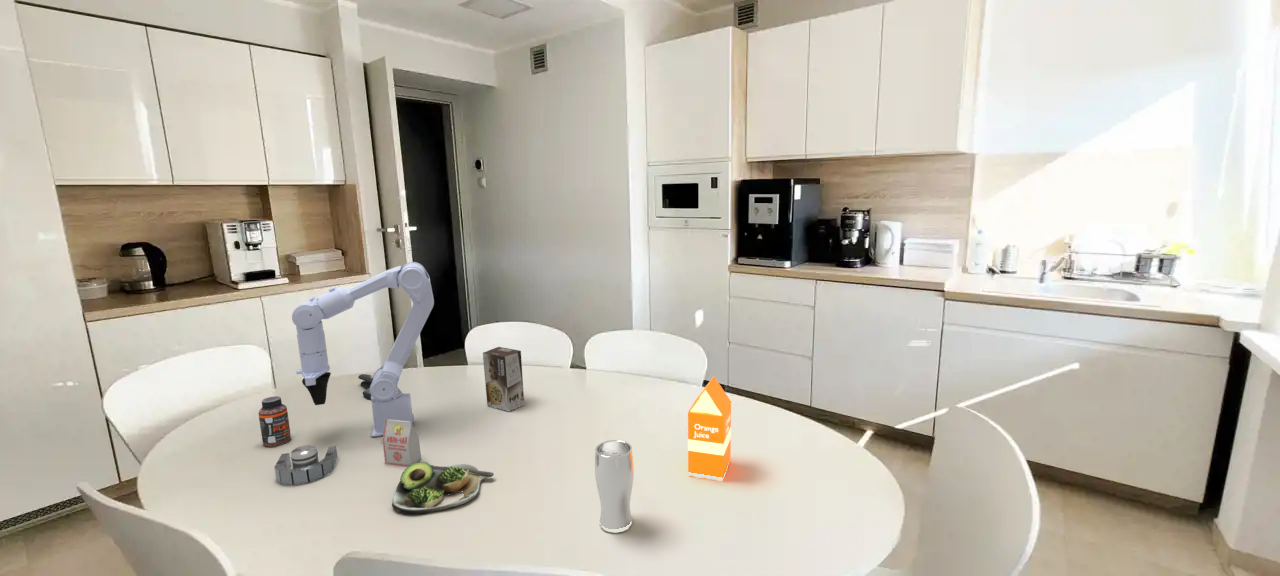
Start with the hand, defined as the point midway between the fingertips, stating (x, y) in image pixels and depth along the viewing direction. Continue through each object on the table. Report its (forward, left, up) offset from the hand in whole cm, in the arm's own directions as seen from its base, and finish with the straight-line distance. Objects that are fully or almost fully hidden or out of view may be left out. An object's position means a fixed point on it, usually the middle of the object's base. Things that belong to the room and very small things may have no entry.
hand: (320, 403), depth 137 cm
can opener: (-8, -32, -10) cm, 35 cm away
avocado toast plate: (-26, +36, -10) cm, 46 cm away
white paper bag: (-19, +20, -10) cm, 29 cm away
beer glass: (-57, +61, -10) cm, 84 cm away
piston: (+1, +16, -10) cm, 19 cm away
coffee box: (-45, -4, -10) cm, 46 cm away
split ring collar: (+1, +17, -9) cm, 19 cm away
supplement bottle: (+11, -3, -10) cm, 15 cm away
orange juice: (-82, +50, -10) cm, 97 cm away
